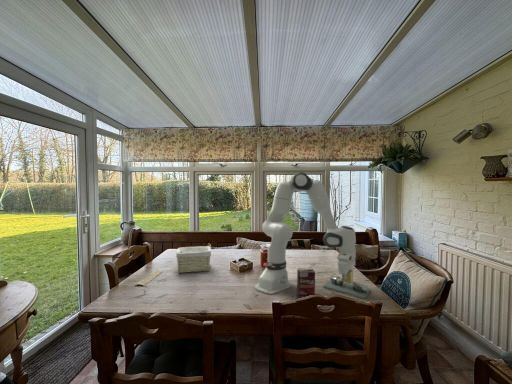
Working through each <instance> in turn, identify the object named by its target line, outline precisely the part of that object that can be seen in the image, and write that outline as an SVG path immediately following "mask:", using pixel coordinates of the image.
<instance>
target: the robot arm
mask: <svg viewBox="0 0 512 384" xmlns="http://www.w3.org/2000/svg"><path fill="white" fill-rule="evenodd" d="M303 191H304V192H306V194H307V196H308V198H309V203H310V204H311V207H312V209H313V210H314V211H315V212H316V213H317V214H319V215H320V216H321V218H322V221H323V222H324V226H325V228H326V233H324V235H323V237H322V241H323V244H324V245H325V246H326V247H328V248H334V249H335V248H339V251H338V252H339V253H338V254H337V257H336V259H337V260H338V261H337V268H338V274H340V275H342V274H343V275H344V279H348V276H347V273H348V272H349V271H350V270H353V268H354V267H355V266H356V258H357V257H356V255H357V251H356V243H357V239H356V230H355V229H354V228H353V227H350V226H347V225H341V226H340V227H338V226H337V223H336V221H335V218H334V216H333V213H332V210H331V209H332V208H331V204H330V200H329V195H328V192H327V190H326V188H325V185H324V184H323V183H322V181H321V180H319V179H312V178H311V177H310V176H309V175H308V174H306V173H305V172H302V171H301V172H297V173H295V174H293V176H291V178H290V180H289V181H281V182H278V184H277V187H276V188H275V193H274V196H273V199H272V200H273V201H272V206H271V209H270V212H269V214H268V216H267V218H266V220H264V222H263V223H262V225H261V229H262V231H263V233H264V234H265V235H266V236H268V237H270V238H271V242H270V245H269V246H268V247H267V260H266V262H264V263H263V267H265V268H264V270H263V271H262V273H261V274H260V275H259V276H258V277H259V278H258V283H257V284H255V285H254V286H253V287H254V289H255V290H256V291H258V292H261V293H264V294H269V295H274V294H277V293H280V292H282V291H285V290H287V289H289V288H291V285H290V283H289V274H288V271H287V260H286V252H287V251H286V249H287V246H288V242H289V240H291V238H292V237H293V234H294V232H293V231H294V230H293V228H292V227H291V225H290V224H288V223H286V222H285V221H284V220H285V218H286V216H288V215H289V214H290V210H291V204H292V200H293V195H294V193H298V192H300V193H301V192H303Z"/></svg>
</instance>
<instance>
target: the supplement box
mask: <svg viewBox="0 0 512 384" xmlns="http://www.w3.org/2000/svg"><path fill="white" fill-rule="evenodd" d="M296 271H297V275H296V277H297V278H296V299H297V298H302V297H306V296H309V295H316V293H315V291H316V290H315V289H316V271H315V270H314V269H313V268H310V269H309V268H308V269H307V268H306V269H305V268H304V269H303V268H301V269H297V270H296Z"/></svg>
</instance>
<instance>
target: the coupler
mask: <svg viewBox="0 0 512 384" xmlns="http://www.w3.org/2000/svg"><path fill="white" fill-rule="evenodd" d="M347 276H348V279H344V275H343V274H341V279H342V281H343V282H345V283H348V284H353V282H354V270H353V269H352V270H350V271H349V272H348V273H347Z"/></svg>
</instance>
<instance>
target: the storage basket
mask: <svg viewBox="0 0 512 384" xmlns="http://www.w3.org/2000/svg"><path fill="white" fill-rule="evenodd" d="M211 256H212V250H211V246H209V245H206V246H205V245H204V246H202V245H201V246H184V247H183V246H182V247H178V248H177V250H176V255H175V257H176V262H177V273H178V274H182V273H197V272H207V271H210V266H211V265H210V264H211V263H210V262H211Z"/></svg>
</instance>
